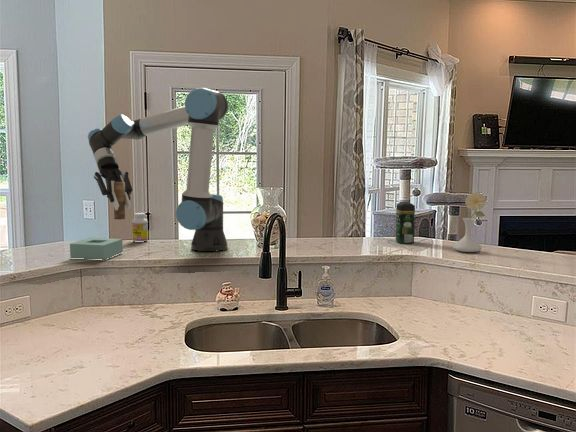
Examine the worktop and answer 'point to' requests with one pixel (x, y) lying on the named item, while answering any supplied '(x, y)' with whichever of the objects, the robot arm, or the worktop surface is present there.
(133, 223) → the supplement bottle
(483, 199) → the flower in vase
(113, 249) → the socket block
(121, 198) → the dowel
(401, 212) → the coffee jar
